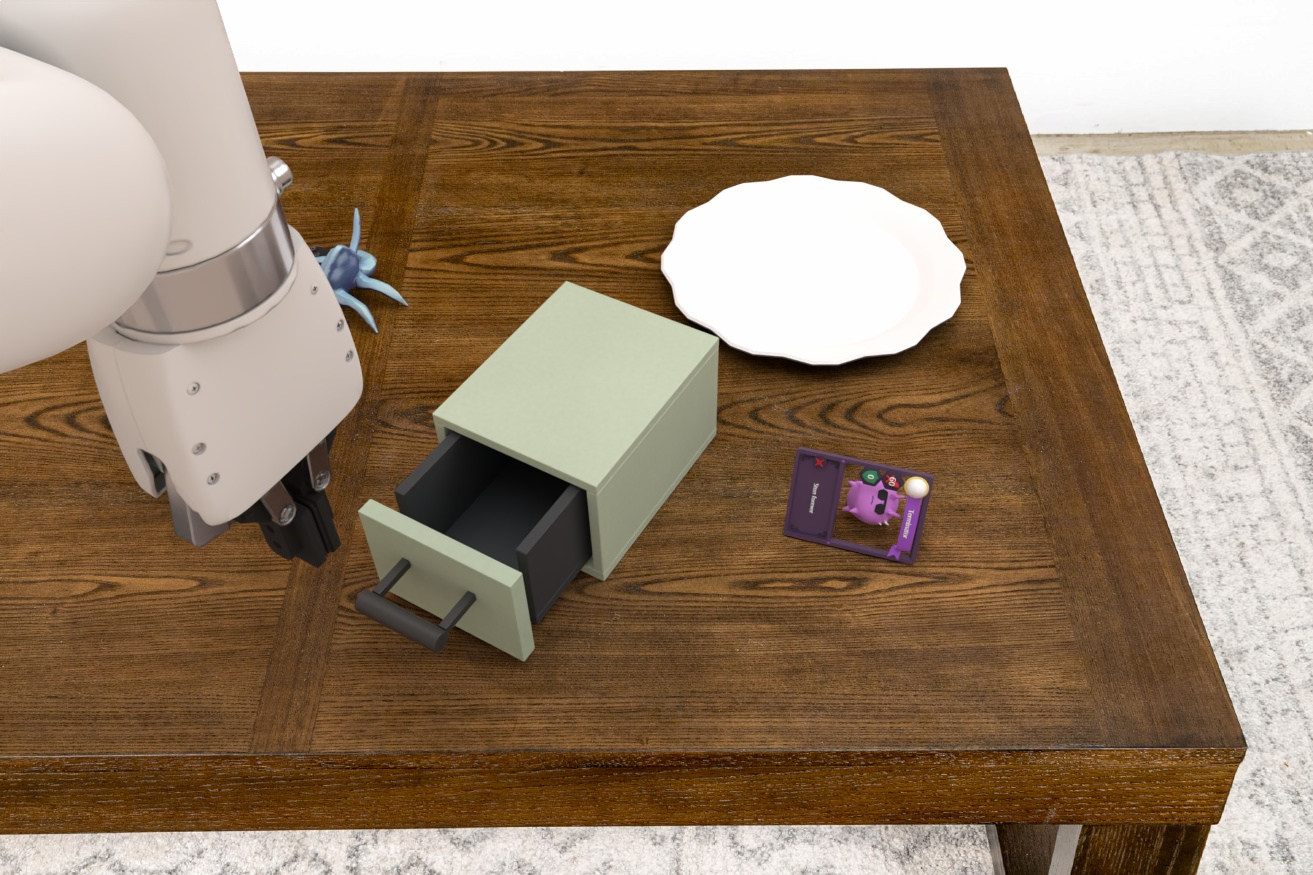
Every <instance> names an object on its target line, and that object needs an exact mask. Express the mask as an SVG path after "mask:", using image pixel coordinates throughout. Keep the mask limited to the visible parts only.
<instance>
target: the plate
mask: <svg viewBox="0 0 1313 875" xmlns="http://www.w3.org/2000/svg"><path fill="white" fill-rule="evenodd" d="M964 258H965V257H964V254H963V252H962V251H961V250H960V249H959V248H958V247H957V246H956V245H955V244H954V243H953V242H952V241H951V240H950V239H949V238H948V235H947V234H946V232H945V229H944V228H943V225H942V223H941V221H940V220H939V219H938V218H936V217H935V216H934V215H933V214H931V213H930V212H929V211H928V210H926V209H925V208H922V207H919V206H917V205H914V204H912V203H909V202H907V201H904V200H902V199H900V198H898V196H895V195H894V194H892V193H891V192H889V191H888V190H886V189H884V188H883V187H880V186H876V185H873V184H870V183H866V182H862V181H849V180H848V181H847V180H836V179H831V178H827V177H822V176H817V175H813V174H811V175H810V174H807V175H806V174H804V175H803V174H801V175H799V174H798V175H797V174H796V175H793V174H791V175H787V176H783V177H779V178H775V179H771V180H766V181H765V180H764V181H754V182H743V183H740V184H737V185H733V186H730V187H728V188H725V189H722V190H721V191H720V192H719V193H718V194H716V195H715V196H714V197H712V198H711V199H710V200H709V201H707V202H705V203H703V204H701V205H698V206H697V207H694V208H692V209H690V210H688V211H686V212H685V213H684V214H683V215H682V216H681V217H680V219H678V220H677V221H676V223H675V225H674V230H673V234H672V239H671V241H670V242H669V244H668V245H667V246H666V248H665V249H664V251H663V252H662V254H661V255H660V272H661V273H662V275H663V276H664V278H665V279H666V282H667V283H668V284H669V286H670V288H671V291H672V295H673V300H674V306H675V307H676V308H677V309H678V311H679V312H680V313H681V314H682V315H683V316H684V317H685V318H686V320H687V321H690V322H691V323H693V324H696V325H698V326H700V327H702V328H704V329H706V330H708V331H709V332H711V333H713V334H714V336H715V337H718V338H719V340H721V341H722V342H723V343H724V344H725V345H727V346H728V347H729V348H731V349H734V350H736V351H739V352H742V353H745V354H747V355H750V356H753V357H765V358H766V357H767V358H777V359H785V360H789V361H793V362H796V363H799V364H803V365H806V366H810V367H838V366H843V365H846V364H849V363H853V362H855V361H859V360H862V359H867V358H876V357H887V356H888V357H889V356H896V355H898V354H901V353H903V352H905V351H908V350H910V349H913V348H915V347H916V346H918V344H920V342H921V341H922V340H923V339H924V338H925V337H926V335H928V334H929V333H930V332H931V331H932V330H933V329H935V328H937V327H939V326H941V325H942V324H944V323H946V322H948V321H949V320H951V319H952V318H953V317H954V316H955V314H956V312H957V310H958V309H959V307H960V306H961V300H962V298H961V283H962V281H963V277H964V275H965V273H966V271H967V264H966V261H965V259H964Z"/></svg>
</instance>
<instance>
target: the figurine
mask: <svg viewBox="0 0 1313 875" xmlns="http://www.w3.org/2000/svg"><path fill="white" fill-rule="evenodd" d="M352 225H353V226H352V236H351V240H350V244H349V247H348V246H347V245H344V244H337V245H336V246H335V247H333V248H330V250H329V252H328V249H327V248H325V247H323V246H312V247H309V248H310V250H311V252H312V253H313V255H314V256H315V258H316V260H317V261H318V263H319V265H320V266H321V268H322V270H323V272H324V273H325V275H326V277H327V279H328V281H329V283H330V285H331V287H332V289H333V291H334V293H335V296H336V298H337V300H338V302H339V305H340V306H342V307H345V308H350V309H352V310H354V311H355V312H357V313H358V315H359V316H360V317H361V318H362V320H363V321H364V322H365V323H366V324H367V325H368V327H370V328H371V329H372V330H373V331H374V332H375V334H377V335H378V334H379V331H378V328H377V325H376V321H375V317H374V316H373V314H372V312H371V311H370V309H369V308H368V306H367V305H366V304H364V303H363V301H360V300H358V299H357V298H356V297H354V296H352V295H351V294H350V293H349V292H350V291H351V290H352V289H355V288H357V289H361V290H363V291H364V290H365V291H373V292H377V293H378V294H379V293H380V294H382V295H383V296H385V297H387V298H388V299H390V300H391V301H393V302H397V303H398V304H402V305H403V306H406V307H409V304H408V303H407V301H406V300H405V299H404V298H403V296H402V295H401V294H400V292H398V291H397V290H396V289H395V288H394V287H393V286H392V285H390V284H389V283H386V282H384V281H381V280H380V279H376V278H372V277H370V276H372V275H374V274H375V273H376V270H377V269H376V267H377V262H378V259H377V258H376V257H375V256H374V255H372V254H371V253H369V252H367V251H364V250H361V249H359V247H360V243H361V237H362V236H361V234H362V233H361V231H362V230H361V226H362V225H361V216H360V211H359V208H358V207H355V208H354V215H353V223H352Z"/></svg>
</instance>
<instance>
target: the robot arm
mask: <svg viewBox="0 0 1313 875" xmlns="http://www.w3.org/2000/svg"><path fill="white" fill-rule="evenodd" d="M242 80H243V79H242V77H241V73H240V71H239V67H238V64H237V61H236V58H235V55H234V51H233V49H232V45H231V42H230V40H229V35H228V33H227V29H226V26H225V23H224V20H223V16H222V14H221V11H220V7H219V4H218V1H217V0H0V375H2V374H5V373H8V372H11V371H15V370H18V369H21V368H23V367H26V366H29V365H31V364H34V363H36V362H40V361H43V360H46V359H48V358H51V357H53V356H55V355H58V354H61V353H63V352H64V351H67V350H69V349H70V348H73V347H74V346H76V345H78V344H80V343H83V342H84V341H86V347H87V353H88V357H89V362H90V367H91V370H92V374H93V377H94V378H93V379H94V382H95V385H96V388H97V391H98V395H99V397H100V400H101V403H102V407H103V408H104V411H105V414H106V416H107V420H108V422H109V424H110V426H111V430H112V432H113V435H114V437H115V440H116V442H117V444H118V447H119V448H120V452H121V453H122V456H123V458H124V460H125V462H126V464H127V466H128V469H129V470H130V473H131V474H132V476H133V479H134V480H135V481H136V483H137V485H138V486H139V487H140V488H141V489H142V490H143V491H144V492H145V493H147V494H148V495H150V496H152V497H153V498H155V499H158V498H160V496H162V495H163V494H164V493H165V492H166V494H167V499H168V505H169V510H170V516H171V521H172V527H173V532H174V534H175V536H177V537H178V538H180V539H181V540H184V541H186V542H187V543H189V544H191V545H192V546H195V547H196V548H202V547H205V546H207V545H208V544H209V543H211V542H212V541H214V540H216V539H217V538H218V537H220V536H221V535H223V534H225V533H226V532H228V531H229V530H231V529H232V527H231V526H233V525H234V524H235V523H238V524H256V523H257V524H258V526H259V528H260V530H261V533H262V535H263V537H264V539H265V543H266V544H267V546H268V548H270V550H272V551H273V553H275V554H276V555H278V556H279V557H281V558H284V559H285V560H287V561H293V559H294V558H298V559H300V560H301V561H303V562H305V563H307V564H309V565H311V566H312V567H315V568H317V569H320V568H321V566H323V564H325V562H327V560H328V559H327V557H328V555H329V554H330V553H335V552H336V551H337V550H338V549H339V548H340V547H341V546H342V542H341V539H340V536H339V534H338V531H337V529H336V524H335V522H334V518H335V515H334V512H333V509H332V506H331V503H330V500H329V498H328V495H327V492H326V488H328V487H329V484H330V483H331V480H332V469H331V468H332V467H331V461H330V457H329V456H330V453H331V449H332V447H333V444H334V440H335V437H336V435H337V430H338V428H337V427H339V426H340V425H341V424H342V422H344V420H345V419H346V417H347V416H348V415H349V414H350V413H351V412H352V410H353V409H354V408H355V407H356V405H357V404H358V402H359V400H360V398H361V397H362V394H363V388H364V378H363V371H362V367H361V362H360V358H359V354H358V350H357V347H356V344H355V342H354V339H353V336H352V333H351V329H350V327H349V324H348V323H347V320H346V317H345V314H344V312H343V309H342V307H341V305H339V302H338V300H337V298H336V296H335V293H334V291H333V289H332V287H331V285H330V283H329V281H328V279H327V277H326V275H325V273H324V272H323V270H322V268H321V266H320V265H319V263H318V261H317V260H316V258H315V256H314V255H313V253H312V252H311V250H310V248H311V247H309V245H308V244H307V243H306V240H304V238H303V237H302V235H301V234H300V232H298V230H297V229H295V227H293V226H292V225H290V224H289V223H288V221H287V217H286V215H285V211H284V209H283V208H284V207H283V206H282V205H283V204H282V202H281V199H280V197H282V196H283V194H284V190H286V189H287V188H288V187H289V186H291V185H292V184H293V182H294V176H293V173H292V171H291V169H290V167H289V166H288V164H286V163H285V161H284V160H283V159H281V158H279V157H278V156H274V155H271V156H268V157H266V154H265V151H264V147H263V143H262V141H261V137H260V135H259V134H260V133H259V131H258V128H257V125H256V121H255V119H254V115H253V111H252V108H251V106H250V102H249V100H248V95H247V93H246V90H245V87H244V86H245V85H244V83H243V81H242Z"/></svg>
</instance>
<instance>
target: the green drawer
mask: <svg viewBox="0 0 1313 875" xmlns="http://www.w3.org/2000/svg"><path fill="white" fill-rule="evenodd" d="M393 493H394V497H395V500H396V503H397V507H398V510H399V511H397V510H395V509H393V508H391V507H388V506H387V505H385V504H382V503H380V502H378V501H376V500H374V499H373V498H369V499H368V500H367V501H366V502H365V503H364V504H363V506H362V507H361V508H360V509H358V510H357V514H358V516H359V519H360V522H361V526H362V528H363V532H364V535H365V539H366V542H367V545H368V547H369V551H370V554H371V557H372V560H373V563H374V567H375V569H376V572H377V576H378V578H379V582H377V585H375V586H374V588H373V589H372V590H370V589H364V590H362V591H361V592H360V593H359V594H358V596H357V597H356V599H355V602H354V610H355V611H356V612H357V613H360V614H362V615H363V616H365V617H367V618H369V619H370V620H373V621H375V622H377V623H378V624H380V625H382V626H383V627H386V628H387V629H389V630H391V631H393V632H395V633H397V634H399V635H400V636H403V637H404V638H406V639H407V640H410V641H412V642H413V643H415V644H417V645H419V646H420V647H423V648H425V649H427V650H428V651H430V652H432V653H434V654H439V653H441V652H442V651H443V650H444V649H445V648H446V646H447V644H448V642H449V638H450V634H449V633H450V632H451V631H452V630H453V629H454V627H456V628H458V629H461V630H462V631H464V632H466V633H468V634H470V635H472V636H474V637H475V638H477V639H479V640H482V641H484V642H485V643H487V644H490V645H491V646H493V647H495V648H496V649H499V650H501V651H503V652H504V653H506V654H509V655H510V656H512V657H514V658H516V659H518V660H519V661H520V662H521V661H522V662H523V663H524V662H526V660H527V659H528V658H529V656H530V655H531V654H532V653H533V651H534V650H535V648H536V647H535V640H534V634H533V630H532V624H535V625H536V626H537V625H539V624H540V623H541V621H542V620H543V618H545V616H546V615H547V613H548V612H549V611H550V610H551V609H552V607H553V606H554V605H555V604H556V602H557V601H558V600H559V598H561V596H562V595H563V593H564V592H565V591H566V589H567V588H568V587H569V586H570V584H571V583H572V582H573V580H574V579H575V578H576V577H577V575H578V574H579V573H580V572H581V569H582V568H583V566H584V565H585V564H586V563H587V561H588V560H589V559H590V557H591V556H592V555H593V554H592V544H591V533H590V522H589V512H588V501H587V490H585V489H582V488H580V487H578V486H576V485H573V484H571V483H569V482H567V481H565V480H562V479H560V478H558V477H556V476H553V475H551V474H549V473H547V472H544V471H542V470H540V469H538V468H536V467H533V466H531V465H529V464H527V463H524V462H522V461H520V460H518V459H515V458H513V457H511V456H509V455H506V454H504V453H502V452H500V451H498V450H495V449H493V448H491V447H489V446H486V445H484V444H482V443H480V442H477V441H475V440H473V439H471V438H469V437H466V436H464V435H462V434H460V433H457V432H455V431H452V432H451V433H450V434H449V435H448V436H447V437H446V438H445V439H444V440H443V441H442V442H441V443H440V444H439V443H438V445H437V446H436V447H435V448H434V449H433V450H432V451H431V452H430V453H429V454H428V455H427V456H426V457H425V458H424V459H423V460H422V461H421V462H420V463H419V464H418V465H417V466H416V467H415V468H414V469H413V471H411V473H409V474H408V475H407V476H406V477H405V478H404V479H403V480H402V482H401V483H399V485H397V487H395V489H394V490H393ZM389 592H390V593H392V594H394V595H395V596H397V597H400V598H401V599H403V600H404V601H407V602H409V603H411V604H413V605H415V606H417V607H419V608H420V609H423V610H424V611H426V612H428V613H430V614H432V615H434V616H435V617H438V618H440V619H441V621H440V622H439V623H438V625H436V624H434V623H432V622H430V621H428V620H427V619H424V618H423V617H421V616H419V615H417V614H415V613H413V612H411V611H409V610H408V609H405V608H404V607H402V606H400V605H398V604H396V603H394V602H392V601H390V600H388V599H387V598H385V596H386V595H387V594H388V593H389Z"/></svg>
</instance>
